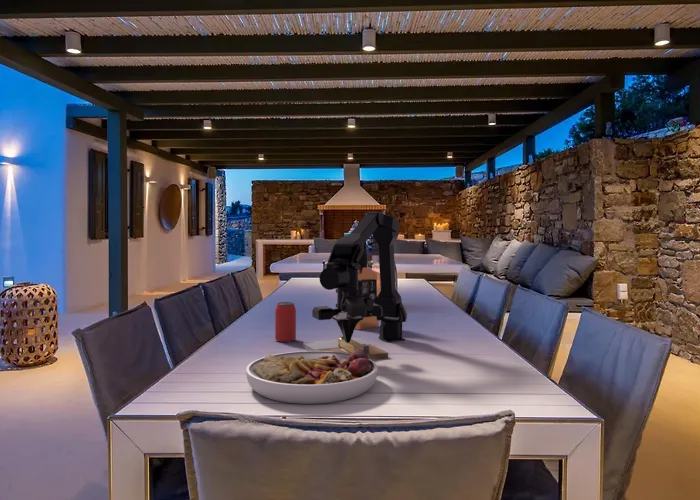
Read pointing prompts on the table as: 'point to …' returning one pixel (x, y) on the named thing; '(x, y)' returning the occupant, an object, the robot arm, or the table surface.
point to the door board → (370, 349)
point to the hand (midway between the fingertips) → (347, 342)
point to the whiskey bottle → (367, 290)
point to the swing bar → (349, 344)
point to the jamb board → (327, 344)
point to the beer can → (285, 322)
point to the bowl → (312, 376)
